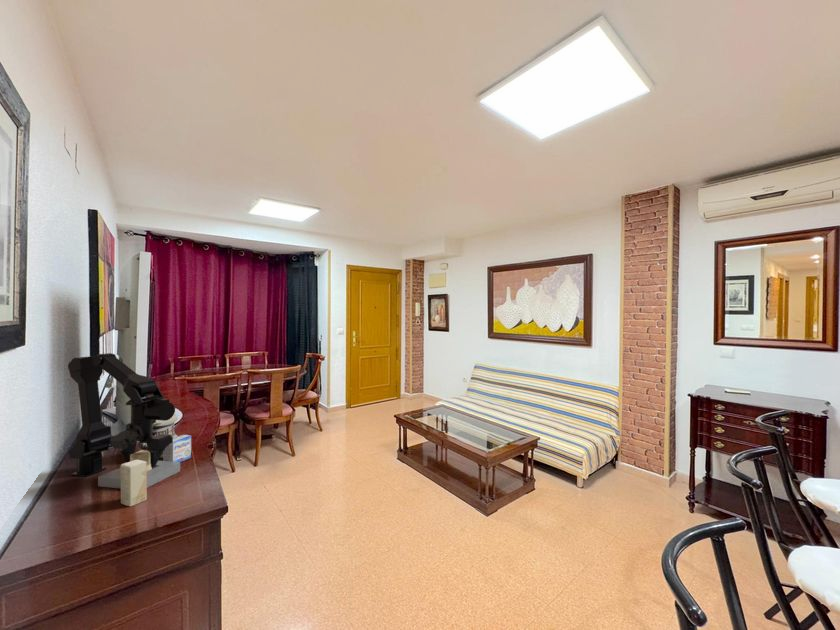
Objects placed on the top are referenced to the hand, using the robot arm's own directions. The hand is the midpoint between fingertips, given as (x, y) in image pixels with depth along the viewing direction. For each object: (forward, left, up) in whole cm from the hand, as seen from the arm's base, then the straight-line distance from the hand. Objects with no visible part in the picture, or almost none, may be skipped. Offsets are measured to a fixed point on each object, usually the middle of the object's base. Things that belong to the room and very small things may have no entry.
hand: (141, 466), depth 115 cm
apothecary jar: (-11, +17, -4) cm, 21 cm away
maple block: (0, 0, -4) cm, 4 cm away
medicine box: (0, +14, -4) cm, 15 cm away
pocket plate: (0, 0, -4) cm, 4 cm away
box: (+12, -13, -4) cm, 18 cm away
